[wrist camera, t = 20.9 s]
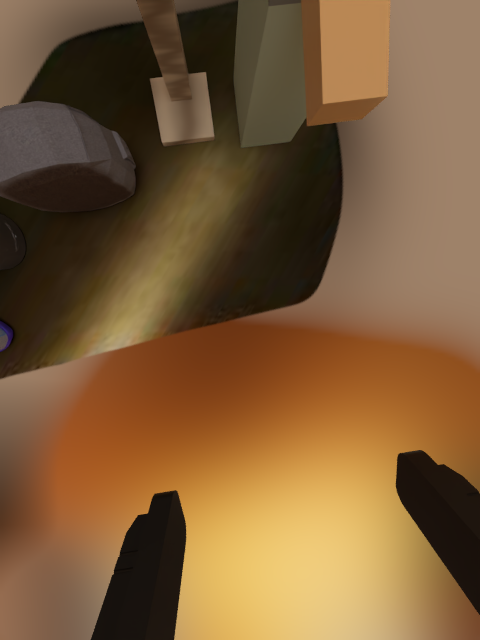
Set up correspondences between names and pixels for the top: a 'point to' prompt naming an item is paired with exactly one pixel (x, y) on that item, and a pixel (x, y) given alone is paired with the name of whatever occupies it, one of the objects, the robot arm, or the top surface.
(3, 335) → the bottle
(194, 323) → the top surface
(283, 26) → the tall grey-green pillar
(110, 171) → the soft grey pack
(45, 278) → the top surface
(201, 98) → the tan table
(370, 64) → the orange wooden block
